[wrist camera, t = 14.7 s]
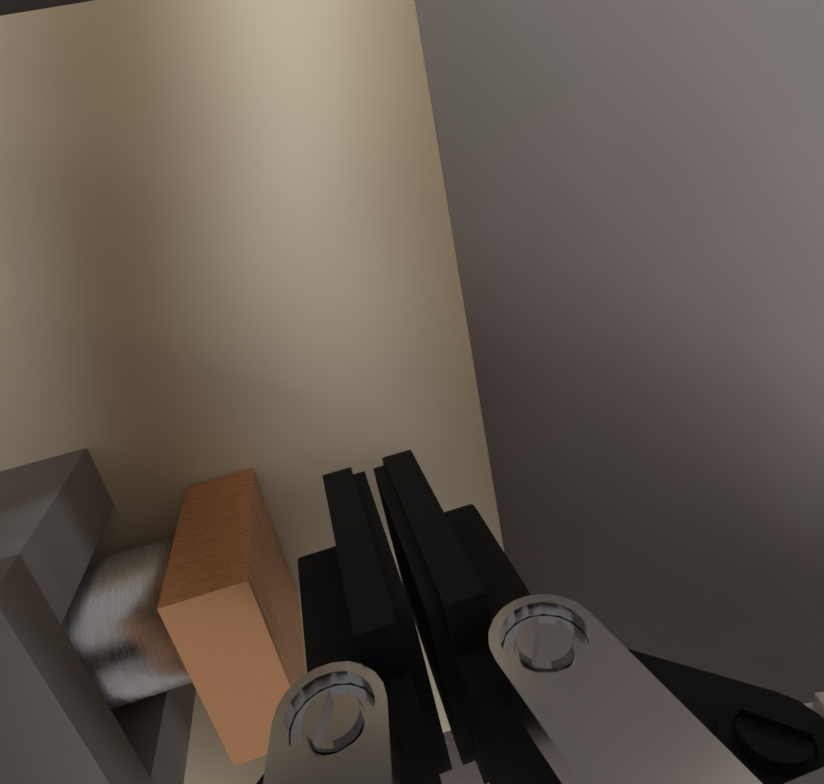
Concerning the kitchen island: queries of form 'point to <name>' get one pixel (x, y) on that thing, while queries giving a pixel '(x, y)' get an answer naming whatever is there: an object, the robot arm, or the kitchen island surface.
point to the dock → (207, 320)
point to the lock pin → (198, 615)
